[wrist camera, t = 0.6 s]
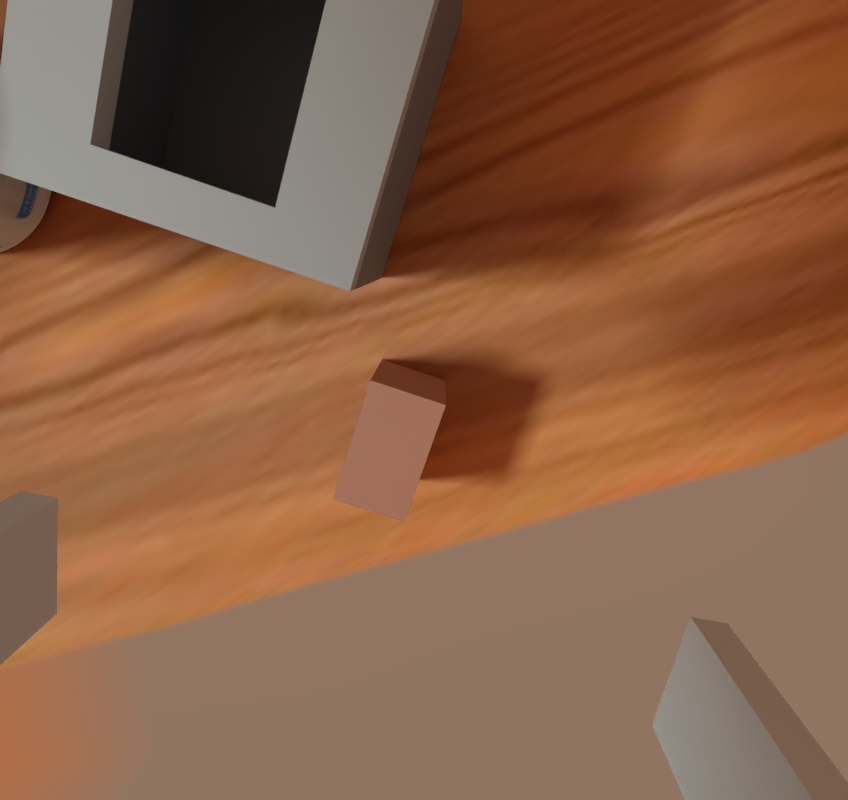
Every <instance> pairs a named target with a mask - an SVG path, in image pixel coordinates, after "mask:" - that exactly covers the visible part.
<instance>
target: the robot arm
mask: <svg viewBox="0 0 848 800" xmlns="http://www.w3.org/2000/svg"><path fill="white" fill-rule="evenodd" d="M57 519H58V498H54V497H48V496H43V495H38V494H32V493H27V492H22V491H20V492H18V493H17V494H15V495H13V496H11V497H9V498H8V499H6V500H4V501H2V502H0V665H1V664H2V663H3V662H4V661H5V660H6V659H7V658H8V657H10V656H11V655H12V654H13V653H14V652H15V651H16V650H17V649H18V648H19V647H20V646H22V645H23V644H24V643H25V642H26V641H27V640H28V639H29V638H30V637H31V636H32V635H34V634H35V633H36V632H37V631H38V630H39V629H40V628H41V627H42V626H43V625H45V624H46V623H47V622H48V621H49V620H50V619H51V618H52V617H53V616H54V615H55V614H57ZM652 725H653V727H654V730H655V732H656V734H657V737H658V739H659V741H660V743H661V746H662V748H663V751H664V753H665V755H666V757H667V760H668V762H669V764H670V767H671V769H672V771H673V774H674V776H675V778H676V781H677V783H678V785H679V788H680V790H681V792H682V794H683V797H684V799H685V800H848V782H847V781H846V780H845V778H844V777H843V776H842V774H841V773H840V772H839V770H838V769H837V768H836V766H835V765H834V764H833V762H832V761H831V760H830V758H829V757H828V756H827V755H826V753H825V752H824V751H823V749H822V748H821V747H820V745H819V744H818V743H817V742H816V740H815V739H814V737H813V736H812V735H811V734H810V732H809V731H808V730H807V728H806V727H805V725H804V724H803V723H802V721H801V720H800V719H799V717H798V716H797V715H796V713H795V712H794V711H793V709H792V708H791V707H790V706H789V704H788V703H787V702H786V700H785V699H784V698H783V697H782V695H781V694H780V692H779V691H778V690H777V688H776V687H775V686H774V685H773V683H772V682H771V680H770V679H769V678H768V676H767V675H766V674H765V672H764V671H763V670H762V668H761V667H760V666H759V665H758V663H757V662H756V661H755V659H754V658H753V657H752V655H751V654H750V653H749V652H748V650H747V649H746V647H745V646H744V645H743V643H742V642H741V641H740V639H739V638H738V637H737V635H736V634H735V633H734V631H733V630H732V629H731V628H730V626H729V625H728V624H726V623H721V622H715V621H711V620H705V619H700V618H695V617H691V618H690V621H689V624H688V626H687V629H686V632H685V635H684V637H683V640H682V643H681V646H680V649H679V651H678V654H677V657H676V660H675V662H674V666H673V668H672V671H671V674H670V676H669V679H668V682H667V685H666V688H665V690H664V693H663V696H662V699H661V701H660V704H659V707H658V710H657V713H656V715H655V718H654V721H653V724H652Z"/></svg>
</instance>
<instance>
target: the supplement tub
mask: <svg viewBox="0 0 848 800" xmlns="http://www.w3.org/2000/svg"><path fill="white" fill-rule="evenodd" d="M51 192H52V191H51V190H48V189H45V188H42V187H40V186H37V185H34V184H31V183H28V182H25V181H22V180H19V179H16V178H13V177H10V176H7V175H4V174H1V173H0V252H2V251H5V250H8V249H10V248H12V247H14V246H15V245H17V244H19V243H20V242H22V241H23V240H24V239H25V238H27V237H28V236H29V235H30V234H31V233H32V232H33V231H34V230H35V228H36V227H37V226H38V224H39V223H40V221H41V219H42V218H43V216H44V214H45V211H46V208H47V206H48V203H49V200H50V196H51Z"/></svg>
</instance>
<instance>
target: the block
mask: <svg viewBox="0 0 848 800" xmlns="http://www.w3.org/2000/svg"><path fill="white" fill-rule="evenodd" d="M445 407H446V380H443V379H440V378H437V377H434V376H431V375H428V374H425V373H422V372H419V371H416V370H413V369H410V368H407V367H404V366H401V365H398V364H395V363H392V362H389V361H386V360H383V359H382V361H381V363H380V364H379V366H378V368H377V370H376V371H375V373H374V375H373V377H372V378H371V380H370V383H369V386H368V390H367V393H366V396H365V399H364V402H363V405H362V409H361V412H360V415H359V418H358V421H357V424H356V428H355V431H354V434H353V437H352V440H351V444H350V447H349V450H348V453H347V456H346V459H345V463H344V466H343V469H342V472H341V475H340V478H339V482H338V485H337V488H336V491H335V494H334V498H333V499H334V500H337V501H340V502H344V503H347V504H350V505H353V506H356V507H359V508H362V509H366V510H369V511H372V512H375V513H378V514H381V515H385V516H388V517H391V518H394V519H397V520H400V521H403V522H404V521H405V519H406V516H407V513H408V510H409V507H410V505H411V502H412V499H413V496H414V493H415V491H416V488H417V485H418V482H419V479H420V477H421V474H422V471H423V468H424V465H425V463H426V460H427V457H428V454H429V451H430V449H431V446H432V443H433V440H434V437H435V435H436V432H437V429H438V426H439V423H440V421H441V418H442V415H443V412H444V409H445Z"/></svg>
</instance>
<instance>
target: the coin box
mask: <svg viewBox="0 0 848 800" xmlns="http://www.w3.org/2000/svg"><path fill="white" fill-rule="evenodd" d="M462 3H463V0H8V2H7V11H6V20H5V29H4V38H3V47H2V56H1V65H0V173H1V174H4V175H7V176H10V177H13V178H16V179H19V180H22V181H25V182H28V183H31V184H34V185H37V186H40V187H42V188H45V189H48V190H51V191H54V192H57V193H60V194H63V195H66V196H69V197H72V198H75V199H78V200H81V201H84V202H87V203H90V204H93V205H96V206H99V207H102V208H105V209H108V210H111V211H113V212H116V213H119V214H122V215H125V216H128V217H131V218H134V219H137V220H140V221H143V222H146V223H149V224H152V225H155V226H158V227H161V228H164V229H167V230H170V231H173V232H176V233H179V234H181V235H184V236H187V237H190V238H193V239H196V240H199V241H202V242H205V243H208V244H211V245H214V246H217V247H220V248H223V249H226V250H229V251H232V252H235V253H238V254H241V255H244V256H247V257H250V258H252V259H255V260H258V261H261V262H264V263H267V264H270V265H273V266H276V267H279V268H282V269H285V270H288V271H291V272H294V273H297V274H300V275H303V276H306V277H309V278H312V279H315V280H318V281H321V282H323V283H326V284H329V285H332V286H335V287H338V288H341V289H344V290H347V291H352V290H354V289H357V288H359V287H361V286H364V285H366V284H368V283H371V282H373V281H375V280H378V279H380V278H382V276H383V273H384V270H385V266H386V263H387V260H388V257H389V253H390V250H391V247H392V244H393V240H394V237H395V234H396V230H397V227H398V224H399V221H400V217H401V214H402V211H403V207H404V204H405V201H406V198H407V194H408V191H409V188H410V184H411V181H412V178H413V175H414V171H415V168H416V165H417V162H418V158H419V155H420V152H421V148H422V145H423V142H424V139H425V135H426V132H427V129H428V125H429V122H430V119H431V116H432V112H433V109H434V106H435V102H436V99H437V96H438V93H439V89H440V86H441V83H442V79H443V76H444V73H445V70H446V66H447V63H448V60H449V57H450V53H451V50H452V47H453V43H454V40H455V37H456V34H457V30H458V27H459V24H460V20H461V15H462Z"/></svg>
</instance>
